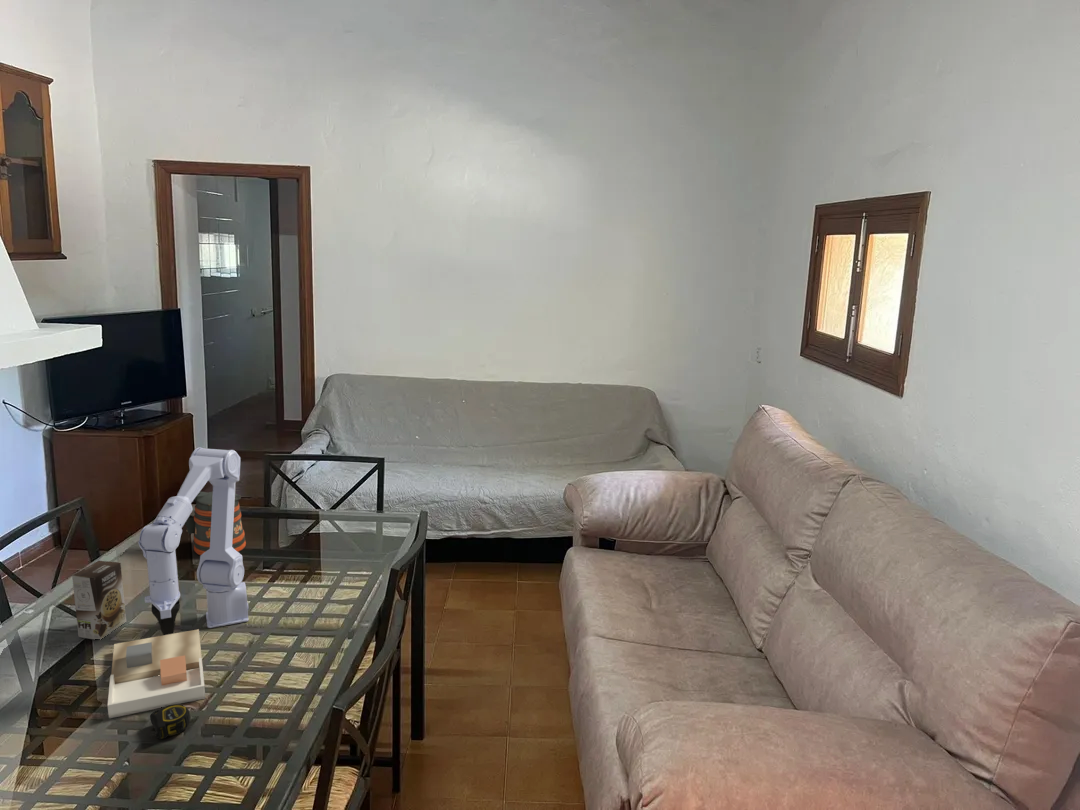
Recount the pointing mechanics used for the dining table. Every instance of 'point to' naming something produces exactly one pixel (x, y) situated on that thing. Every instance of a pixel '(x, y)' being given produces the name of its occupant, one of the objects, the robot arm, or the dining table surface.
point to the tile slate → (139, 655)
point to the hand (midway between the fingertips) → (168, 633)
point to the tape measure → (170, 720)
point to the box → (154, 693)
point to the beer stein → (202, 524)
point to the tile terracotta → (173, 670)
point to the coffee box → (99, 599)
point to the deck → (157, 655)
